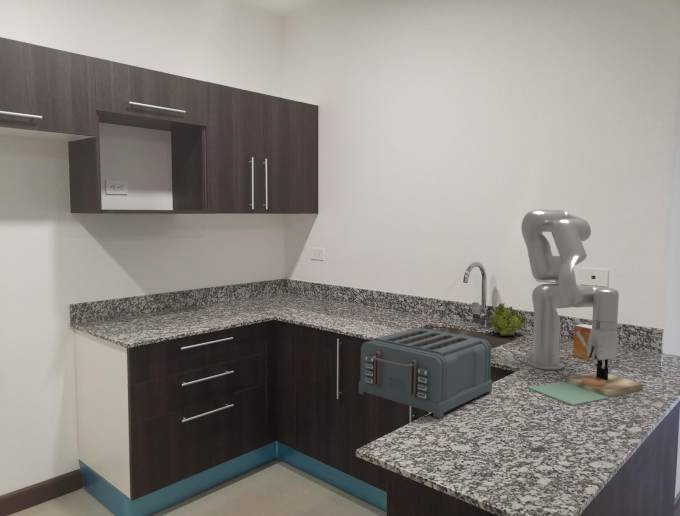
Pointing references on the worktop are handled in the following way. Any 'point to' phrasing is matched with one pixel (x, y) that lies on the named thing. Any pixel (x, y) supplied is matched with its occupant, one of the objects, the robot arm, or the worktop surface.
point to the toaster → (426, 369)
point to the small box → (581, 340)
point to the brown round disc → (593, 381)
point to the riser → (607, 385)
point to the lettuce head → (507, 321)
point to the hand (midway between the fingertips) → (602, 378)
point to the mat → (568, 393)
